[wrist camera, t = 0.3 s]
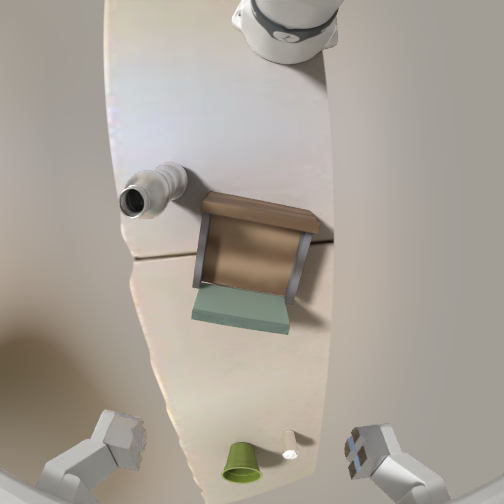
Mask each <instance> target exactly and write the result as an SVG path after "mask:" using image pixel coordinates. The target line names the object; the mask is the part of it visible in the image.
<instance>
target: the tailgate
mask: <svg viewBox="0 0 504 504" xmlns="http://www.w3.org/2000/svg"><path fill="white" fill-rule="evenodd" d="M192 319H194V320H199V321H204V322H210V323H216V324H221V325H227V326H233V327H239V328H245V329H252V330H258V331H265V332H272V333H279V334H286V335H288V333H289V329H290V324H289V319H288V314H287V309H286V304H285V299H284V297H282V296H276V295H270V294H264V293H258V292H252V291H246V290H240V289H235V288H229V287H223V286H218V285H212V284H207V283H201V285H200V288H199V291H198V295H197V298H196V301H195V304H194V307H193V311H192Z"/></svg>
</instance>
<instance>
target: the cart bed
mask: <svg viewBox="0 0 504 504" xmlns="http://www.w3.org/2000/svg"><path fill="white" fill-rule="evenodd" d="M201 212H203V215H202V221H201V228H200V235H199V242H198V249H197V256H196V263H195V271H194V279H193V288H198V289H199V287H200V284H201V281H204V282H209V283H215V284H220V285H226V286H232V287H237V288H243V289H249V290H255V291H261V292H266V293H273V294H279V295H284V296H285V300H286V304H292V305H293V302H294V298H295V295H296V291H297V288H298V285H299V281H300V278H301V274H302V271H303V267H304V264H305V260H306V256H307V253H308V249H309V245H310V242H311V238H312V234H313V233H315V234H318V232H319V228H320V223H319V222H318V220H317V219H316V218H315V217H314V216H313V214H312V213H311V212H310V211H309V210H304V209H300V208H295V207H290V206H285V205H280V204H275V203H270V202H265V201H260V200H255V199H250V198H245V197H239V196H234V195H228V194H223V193H217V192H211V191H210V192H209V193H208V195H207V196H206V197H205V199H204V200H203V201H202V207H201Z"/></svg>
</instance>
